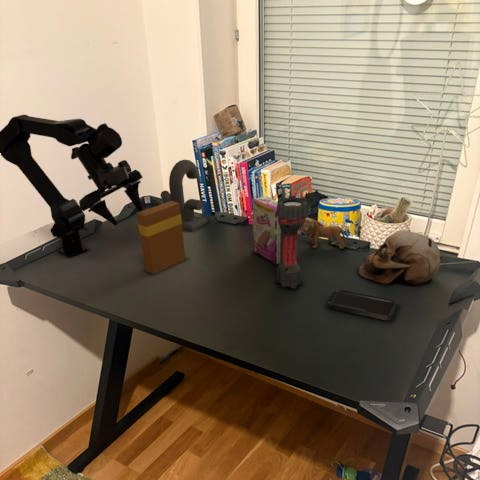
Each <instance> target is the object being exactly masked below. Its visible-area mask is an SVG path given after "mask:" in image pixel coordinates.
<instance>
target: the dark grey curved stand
mask: <svg viewBox="0 0 480 480" xmlns="http://www.w3.org/2000/svg"><path fill="white" fill-rule="evenodd" d="M185 176H186V178H187V179H189V180H196V179H199V178H200V172H199V168H198V166H197V165H196V164H195V163H194V162H193V161H192V160H191V159H181V160H179V161H177V162H176V163H175V164H174V165H173V166H172V168H171V170H170V174H169V176H168V177H169V178H168V187H169V191H168V190H163V191H161V192H160V198H161V200H162V202H163V203H162V204H164V203H166V202H169V201H174V202H177V203H179V204H180V213H181V220H182V230H184V231H190V232H194V231H196V230H197V229H198V230H199V228H201V227H203V226H205V225H207V224H208V219H207V218H204V217H200V216H196V215H195V211H201V210H202V209H203V207H204V203H203V201H202V200H201V199H195V198H190V199H187V200H185V193H184V185H183V181H184V177H185Z"/></svg>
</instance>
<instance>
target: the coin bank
mask: <svg viewBox="0 0 480 480" xmlns="http://www.w3.org/2000/svg"><path fill="white" fill-rule="evenodd" d="M440 267H441V251H440V248H439V247H438V244H437V243H436V242H435V241H434V239H432V238H431V237H429V236H427V235H425V234H422V233H418V232H415V231H411V230H405V229H400V230H397V231H395V232H393V233H392V234H389V236H387V237H386V239H385V240H384V241H383V243H382V244H379V248H378V249H377V250H376V251H375V252H373V253H371V254H370V255H369V256H368V257H367V258H366V260H365V263H364V264H362V265H360V266H359V268H358V274H359V275H360V276H361V277H362V278H365V279H367V280H370V281H373V282H374V283H375V282H376V283H379V284H381V285H383V286H384V285H385V286H386V285H390V283H392V282H393V281H397V282H406V283H408V284H410V285H412V286H414V285H415V286H416V285H419V284H423V283H426V282H428V281H430V280H431V279H432V278H434V277H435V276H436V275H437V274H438V272H439V269H440Z"/></svg>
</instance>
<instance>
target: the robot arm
mask: <svg viewBox="0 0 480 480" xmlns="http://www.w3.org/2000/svg"><path fill="white" fill-rule="evenodd" d="M31 135H35V136H41V137H46V138H47V137H48V138H52V139H55V140H56V141H57V143H59V144H61V145H63V146H67V147H72V148H71V155H70V159H71V160H75V159H78V160H79V162H80V163H81V165H82V166H83V168H84V169H85V171H86V173H87V174H88V175H87V178H88V180H89V181H92V182H93V183H94V185H95V186H96V188H97V189H95V190H93V191H91V192H89V193H88V194H85V195H84V196H83V197H82V198H81V199H79V201H77V200H76V199H74V198H72V199H68V198H66V197H64V196H63V194H62V193H61V191H60V190H59V189H58V188H57V186H56V185H55V184H54V182H53V181H52V180H51V179H50V177H49V176H48V175H47V174H46V172H45V171H44V170H43V168H42V167H41V166H40V165H39V163H38V162H37V160H36V159H35V158H34V157H33V155H32V147H31V145H30V143H29V140H30V138H31ZM76 145H80V146H76ZM74 146H76V147H74ZM122 146H123V139H122V137H121V135H120V133H119V132H117V130H115V129H114V128H112V127H110V126H109V125H108V124H107V123H104V122H103V123H101V124H99V125H98V126H97V128H95V127H93V126H91V125H89V124H87V123H86V120H84V119H82V118H72V119H64V120H56V119H50V118H49V119H48V118H43V117H36V116H31V115H28V114H21V115H15V116H13V117H11V118H10V119H9V120H8V123H7V124H6V125H5V126H3V128H2V129H1V130H0V153H1V155H0V156H1V157H2V158H3V159H4V160H5V161H6V162H8V163H11V164H12V165H14V166H16V167H17V168H18V169H19V170H20V171H21V173H22V174H23V175H24V177H25V178H26V179H27V180H28V182H29V183H30V185H32V187H33V188H34V189H35V190H36V192H37V193H38V194H39V195H40V197H41V198H42V199H43V200H44V202H45V203H46V204H47V205H48V207H49V208H50V209H49V210H50V215H51V219H52V221H53V222H54V223H53V225H52V227H51V228H50V230H49V231H50V233H51V235H52V237H53V238H57V239H59V240H60V243H61V247H62V248H61V249H58V252H59V253H60V254H62V255H64V256H66V257H68V258H72V257H74V256H76V255H79V254H82V253H85V252H88V250H89V249H88V248H87V247H85V246H83V244H82V240H81V235H80V231H81V230H83V229H85V223H86V214H85V213H84V212H85V211H87V210H88V212H89V213H90V212H92V213H95V214H96V215H97V216H100V217H101V218H103V219H105V220H106V221H108V222H109V223H111V224H112V225H113V226H118V222H117V220H116V218H115V217H114V215H113V214H112V212H111V210H110V209H109V208H108V206H107V203H106V199H103V198H106V197H107V196H109V195H111V194H113V193H114V192H116V191H118V190H120V189H122V188H124V189H125V190H124V193H125V195H126V196H127V197H128V198H129V200H130V202H132V204H133V205H134V207H135V208H136V209H137V210H138V212H141V211H143V207H142V202H141V197H140V193H139V187H140V184H141V183H142V181H141V179H143V177H144V176H143V175H142V173H141V172H140V171H139V170H137V169H134V170H132V168H131V165H130V163H129V162H128V161H127V159H123V160H120V161H119V162H117V165H116V166H113V164H112V163H111V162H110V161H109V162H107V161H106V159H107V158H109V157H110V156H111V155H112V154H113V153H115V152H116V151H117V150H119V149H120V148H121V147H122ZM102 199H103V200H102Z"/></svg>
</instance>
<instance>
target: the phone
mask: <svg viewBox="0 0 480 480" xmlns="http://www.w3.org/2000/svg"><path fill="white" fill-rule="evenodd" d="M327 307H328V309H331V310H336V311H341V312H345V313H350V314H355V315H358V316H363V317H368V318H372V319H377V320H382V321H390V320H391V319H392V317H393V315H394V313H395V311H396V308H397V301H396V300H394V299H388V298H383V297H378V296H374V295H373V296H372V295H368V294H364V293H360V292H359V293H358V292H353V291H350V290H349V291H348V290H345V289H344V290H343V289H336V290H335V291H334V292H333V294H332V295H331V297H330V298H329V299H328V301H327Z"/></svg>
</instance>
